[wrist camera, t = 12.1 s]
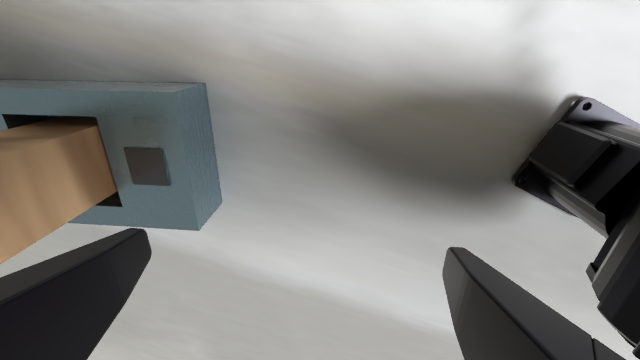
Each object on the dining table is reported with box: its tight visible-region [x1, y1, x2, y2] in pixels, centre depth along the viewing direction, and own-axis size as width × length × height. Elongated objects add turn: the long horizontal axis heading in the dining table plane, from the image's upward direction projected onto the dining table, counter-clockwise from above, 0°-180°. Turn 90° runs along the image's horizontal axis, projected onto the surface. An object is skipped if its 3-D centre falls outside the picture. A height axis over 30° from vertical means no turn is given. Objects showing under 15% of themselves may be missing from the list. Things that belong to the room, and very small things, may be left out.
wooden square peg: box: [0, 116, 118, 264], centre depth 17 cm, size 4×4×12 cm
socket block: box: [0, 79, 222, 231], centre depth 21 cm, size 16×9×4 cm, turn 89°
